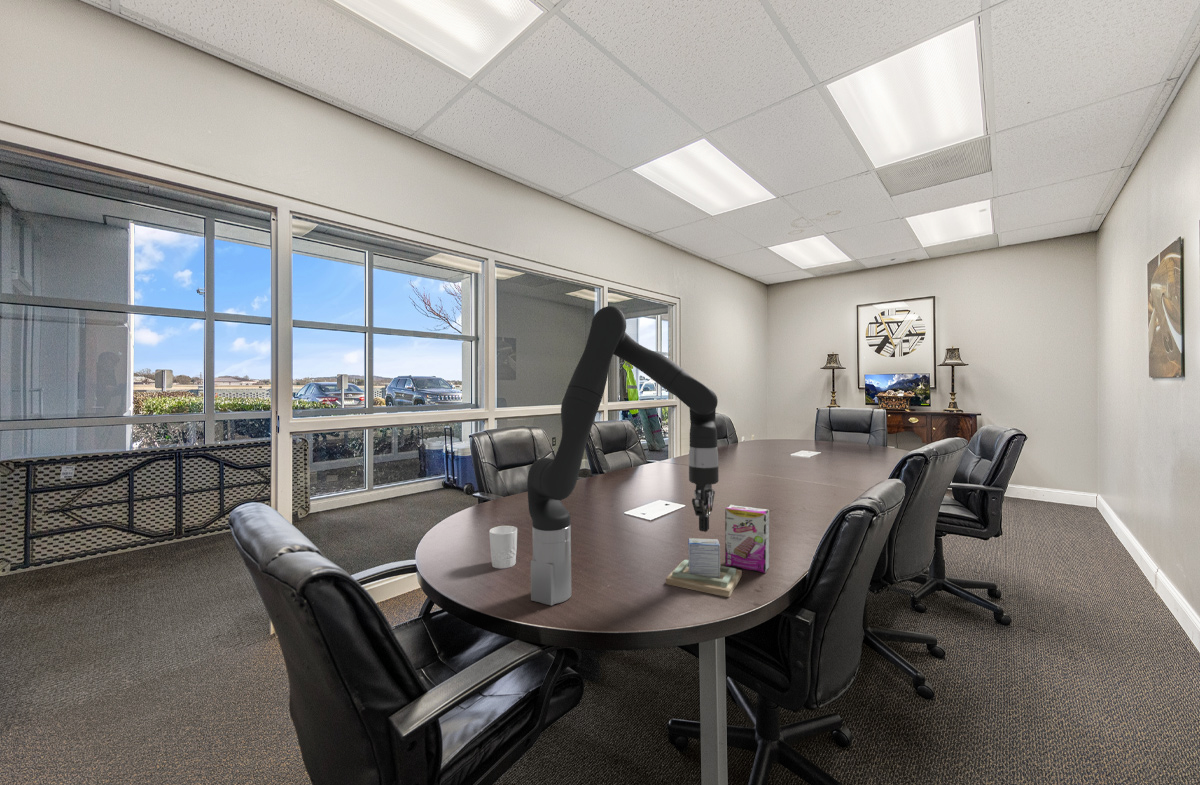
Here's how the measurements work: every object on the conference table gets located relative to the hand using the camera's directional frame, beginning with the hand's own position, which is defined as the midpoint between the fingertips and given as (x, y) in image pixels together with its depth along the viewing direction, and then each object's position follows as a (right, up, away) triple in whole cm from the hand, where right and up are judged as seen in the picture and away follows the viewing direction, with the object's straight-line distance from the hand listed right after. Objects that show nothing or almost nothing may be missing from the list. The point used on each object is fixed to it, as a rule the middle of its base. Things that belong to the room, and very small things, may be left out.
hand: (704, 530), depth 119 cm
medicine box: (0, -12, 0) cm, 12 cm away
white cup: (-55, -14, +12) cm, 58 cm away
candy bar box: (+14, -13, +8) cm, 21 cm away
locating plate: (0, -13, 0) cm, 13 cm away
